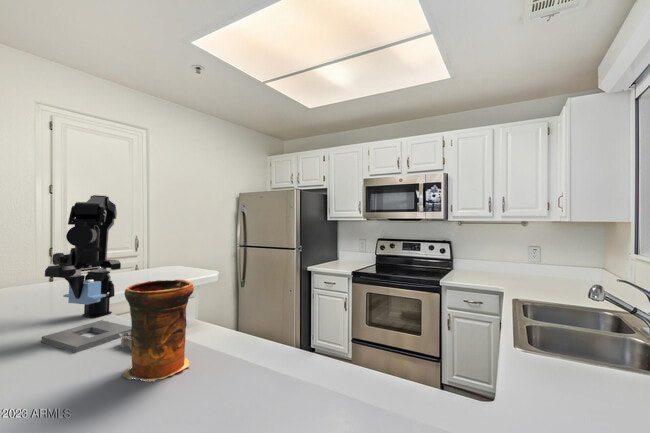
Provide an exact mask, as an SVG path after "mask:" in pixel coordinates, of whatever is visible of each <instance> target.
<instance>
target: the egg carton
mask: <svg viewBox="0 0 650 433" xmlns="http://www.w3.org/2000/svg"><path fill="white" fill-rule="evenodd" d="M119 335H120V336H121V339H120V347H121V348H125V347H129V350H131V331H130V332H125V333H123V334H119Z"/></svg>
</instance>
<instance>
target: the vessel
mask: <svg viewBox="0 0 650 433" xmlns="http://www.w3.org/2000/svg"><path fill="white" fill-rule="evenodd" d="M194 288H195V287H194V284H193V283H192V282H191V281H189V280H186V279H172V280H171V279H170V280H168V279H167V280H161V279H158V280H148V281H147V280H146V281H144V282H140V283H139V282H138V283H135V284H133V285H130V286H127V287H126V288H125V290H124V297H125V300H126V301H127V302H128V306H129V312H130V313H129V314H130V322H131V327H132V328H131V349H130V351H131V366H132V368H131V369H129V368H127V371H124V374H123V375H122V377H124V378H126V379H128V380H131V379H132V378H133V379H134V378H137V379H136V380H139V379H142V380H143V381H144V380H145V382H151V381H153V382H154V383H155V381H157V380H164V379H165V378H166V379H167V377H170V376H174V375H175V374H176V373H179V372H182V371H184V370H185V369H186V368H189V367H190V366H189V365H190V361H189V359H188V358H186V357H185V352H186V348H185V347H186V334H187V333H186V331H187V330H186V328H187V307H188V306H187V305H188V304H189V298H190V296H192V294H193V293H194ZM142 380H141V381H142ZM148 380H150V381H148ZM153 382H152V383H153Z"/></svg>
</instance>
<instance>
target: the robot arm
mask: <svg viewBox="0 0 650 433" xmlns="http://www.w3.org/2000/svg"><path fill="white" fill-rule="evenodd" d="M70 209H71V210H70V213H69V216H68V221H67V225H69V226H70V225H72V226H73V225H74V226H73V227H71V228H69V230H68V231H67V232H66V235H65V238H66V240H67V242H68V243H69V244H70V245H71V246H74V247H71V248H70V253H68V254H65V253H63V252H56V253H53V254H52V264H53V265H49V266H47V267H46V268H45V270H44V277H45V278H47V277H48V278H58V279H59V278H62V279H65V281H66V282H67V284H68V285H69V284H70V286H71V289H72V291H73V293H74V296H75V298H76V299H79V298H80V296H81V293H82V288H83V283H84V280H94V281H101V294H106V297H102V298H100V302H96V303H92V304H88V305H86V304H83V305H84V307H83V308H84V310H83V312H84V313H82V316H83V317H88V318H92V319H96V318H99V317H102V316H107V315H109V314H110V315H111V314H113V311H110V300H111V298H113V297H115V284H114V283H113V280H112V279H111V275H110V274H111V271H110V270H108V269H111V270H112V271H115V270H121V266H122V264H121V262H120V260H119V259H107V258H108V257H107V256H108V247H109V246H108V242H109V231H110V229H111V228H112V227H113V226H114V224H115V220H116V219H117V213H118V212H117V206H116V204H115V203H114V202H112V201H111V200H110V198H109V196H107V195H99V194H97V195H96V194H93V195H90V198H89V199H88V200H87V201H76V202H75V203H74V205H72V206H71V208H70ZM82 272H87V273H86V275H82Z"/></svg>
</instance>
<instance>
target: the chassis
mask: <svg viewBox="0 0 650 433" xmlns="http://www.w3.org/2000/svg"><path fill="white" fill-rule="evenodd" d="M131 328H132V326H130V325H126V324H125V325H124V324H119V323H115V322H111V321H107V320H103V319H101V320H97V321H94V322H91V323H89V322H88V323H86V324H82V325H79V326H76V327H72V328H68V329H65V330H61V331H58V332H53V333H50V334H46V335H42V336H40V337H41V341H40V342H41V343H43V344H47V345H50V346H53V347H57V348H59V349H63V350H66V351H70V352H73V353H79V352H83V351H85V350H88V349H91V348H94V347H97V346H100V345H103V344H105V343H108V342H112V341H114V340H117V339H120V338H121V339H122V337H121V336H120V335H119V334H123V333H125V332H130V331H131ZM88 333H95V334H96V335H93V336H90V337H88V336H85V335H84V334H88Z"/></svg>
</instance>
